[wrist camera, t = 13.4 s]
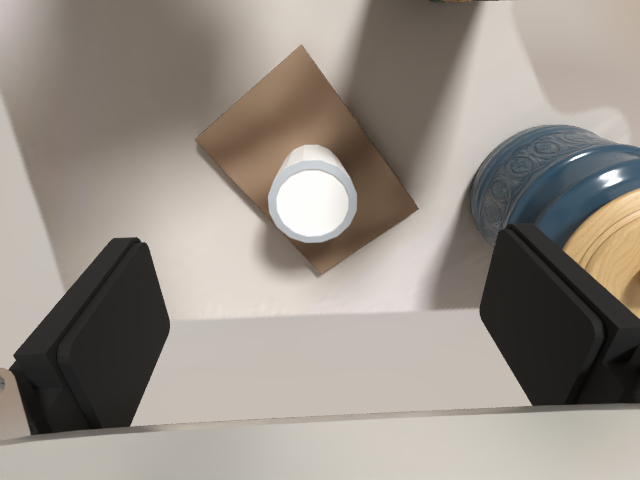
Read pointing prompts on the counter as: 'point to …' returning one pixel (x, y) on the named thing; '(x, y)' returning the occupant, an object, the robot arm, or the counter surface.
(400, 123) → the counter surface
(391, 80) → the counter surface
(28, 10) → the counter surface
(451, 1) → the bottle
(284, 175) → the shot glass
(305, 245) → the walnut board
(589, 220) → the canister
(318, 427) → the robot arm
